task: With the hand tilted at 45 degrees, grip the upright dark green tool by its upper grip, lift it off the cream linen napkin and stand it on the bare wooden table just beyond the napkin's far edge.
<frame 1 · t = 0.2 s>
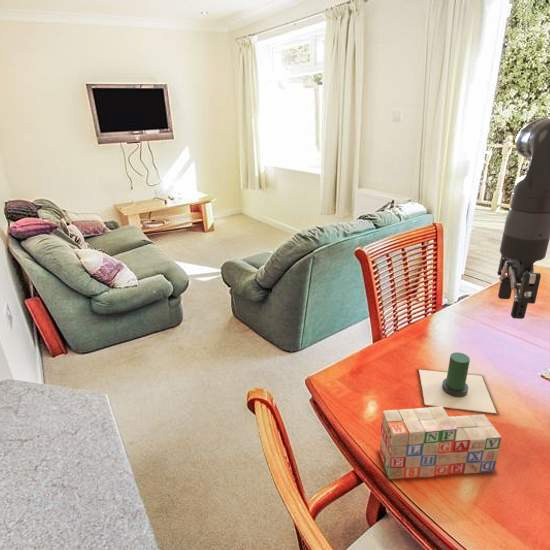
hand: (510, 307, 77), 29 cm above the table, tool pointing down, fingers open, 8 cm apart
green tool: (454, 389, 97), resting on napkin
napkin: (454, 390, 97), on the table
stack of blocks: (434, 463, 77), on the table
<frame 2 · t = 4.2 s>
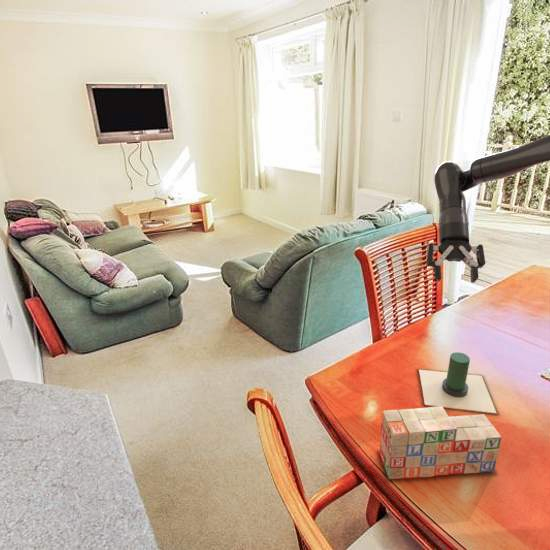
hand: (456, 281, 100), 25 cm above the table, tool tilted 45°, fingers open, 8 cm apart
nothing on the table moved.
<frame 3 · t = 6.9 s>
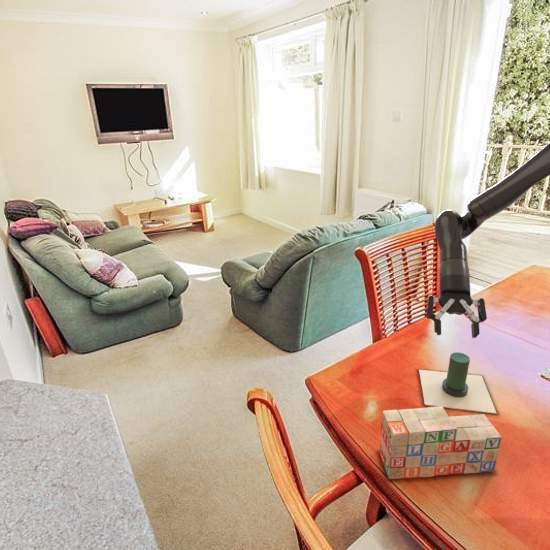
hand: (456, 336, 97), 12 cm above the table, tool tilted 45°, fingers open, 8 cm apart
nothing on the table moved.
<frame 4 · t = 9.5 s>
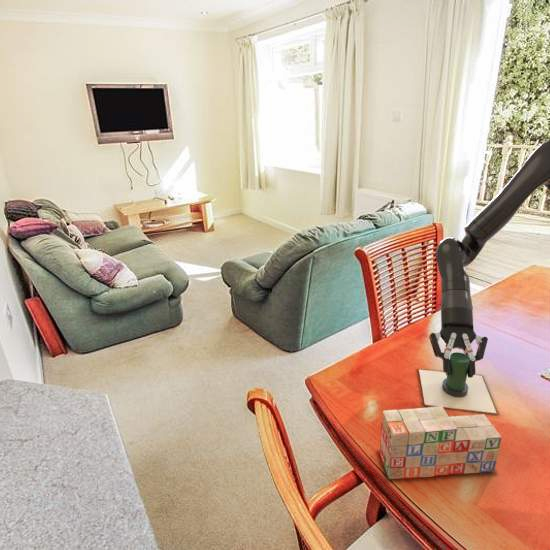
hand: (459, 375, 93), 6 cm above the table, tool tilted 45°, fingers closed on green tool, 4 cm apart
green tool: (454, 389, 97), resting on napkin, touching gripper
everything else where it was.
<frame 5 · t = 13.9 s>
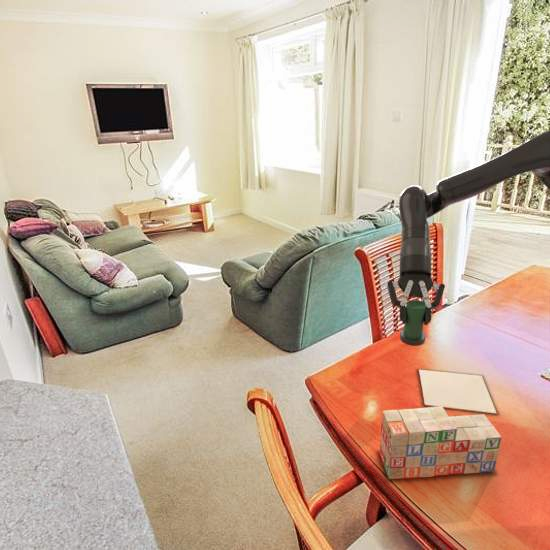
hand: (415, 323, 90), 20 cm above the table, tool tilted 45°, fingers closed on green tool, 4 cm apart
green tool: (412, 339, 94), point 14 cm above the table, touching gripper
everything else where it was.
when the fingers open (6 cm above the table, at t = 18.3 s): green tool stays where it is, on the table.
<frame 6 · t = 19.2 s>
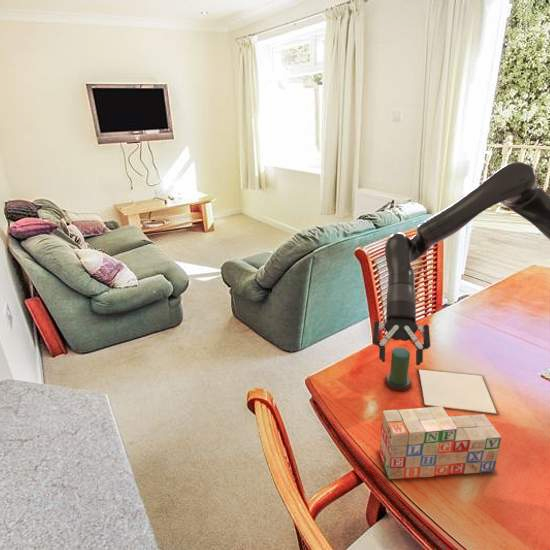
hand: (400, 363, 96), 8 cm above the table, tool tilted 45°, fingers open, 8 cm apart
green tool: (397, 383, 100), on the table
everything else where it was.
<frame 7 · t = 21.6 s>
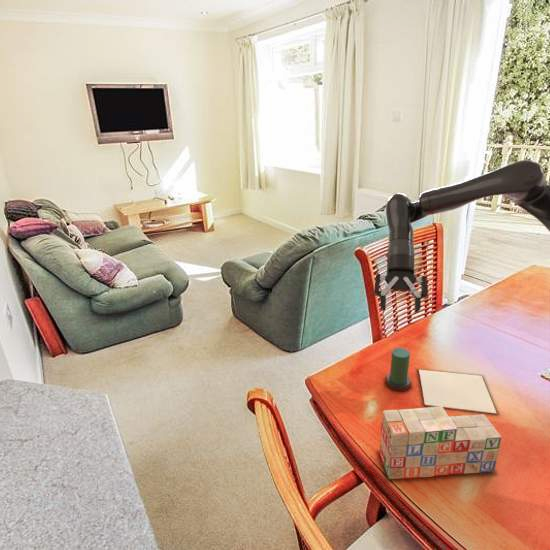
hand: (399, 311, 103), 16 cm above the table, tool tilted 45°, fingers open, 8 cm apart
nothing on the table moved.
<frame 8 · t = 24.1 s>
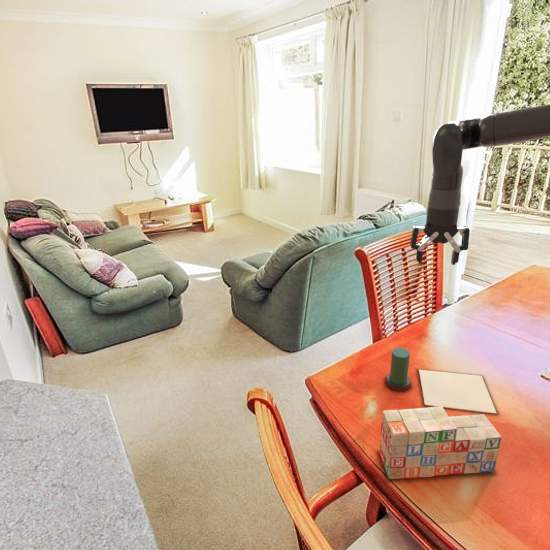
hand: (436, 263, 103), 28 cm above the table, tool pointing down, fingers open, 8 cm apart
nothing on the table moved.
at the end: green tool inside the target area (0.1 cm from its centre), on the table; green tool touching table; green tool tilted 0° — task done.
